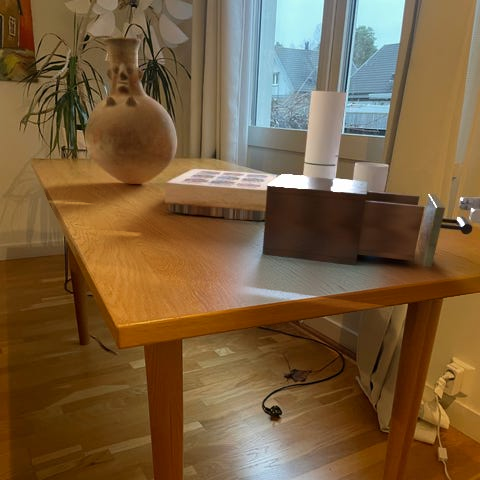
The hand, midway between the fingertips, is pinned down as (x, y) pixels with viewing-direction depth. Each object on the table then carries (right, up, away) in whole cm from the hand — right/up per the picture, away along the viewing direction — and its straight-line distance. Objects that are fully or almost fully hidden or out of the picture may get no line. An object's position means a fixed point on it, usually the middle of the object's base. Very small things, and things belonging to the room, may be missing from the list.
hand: (464, 208), depth 73 cm
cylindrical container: (-17, +7, +36) cm, 41 cm away
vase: (-64, +21, +59) cm, 90 cm away
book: (-39, +10, +39) cm, 56 cm away
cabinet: (-22, -5, +9) cm, 24 cm away
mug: (-8, +4, +30) cm, 31 cm away
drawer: (-8, -6, +5) cm, 11 cm away
